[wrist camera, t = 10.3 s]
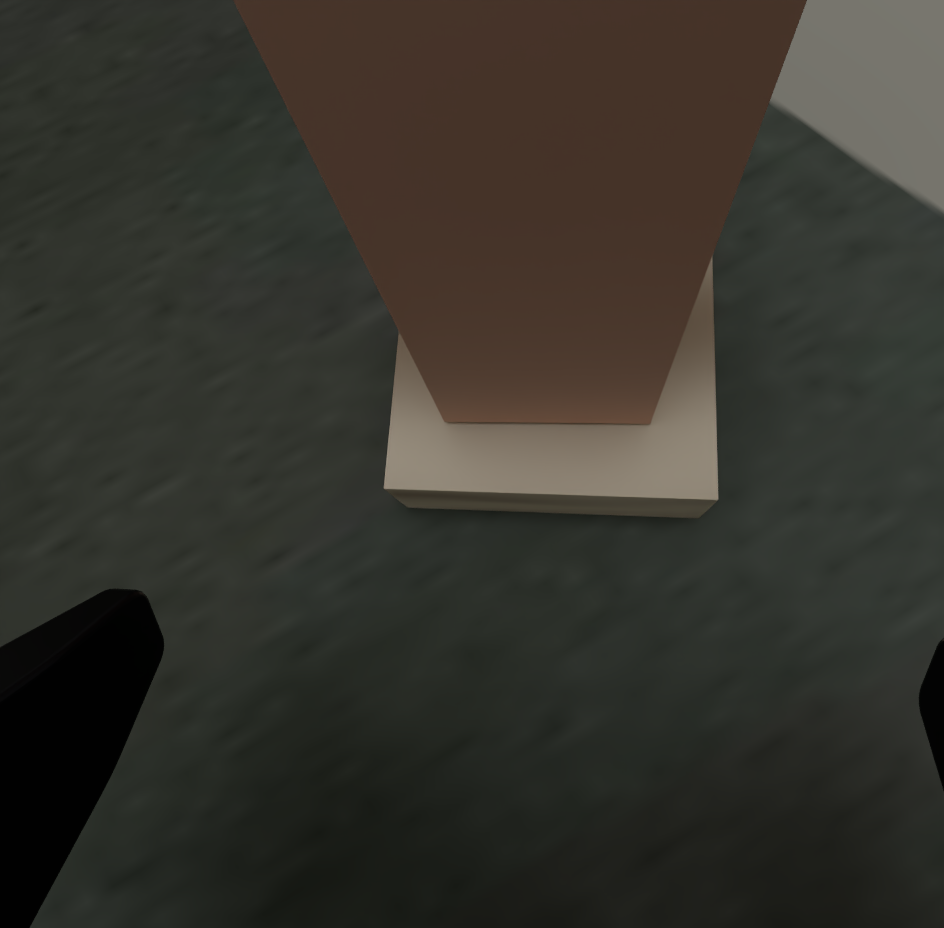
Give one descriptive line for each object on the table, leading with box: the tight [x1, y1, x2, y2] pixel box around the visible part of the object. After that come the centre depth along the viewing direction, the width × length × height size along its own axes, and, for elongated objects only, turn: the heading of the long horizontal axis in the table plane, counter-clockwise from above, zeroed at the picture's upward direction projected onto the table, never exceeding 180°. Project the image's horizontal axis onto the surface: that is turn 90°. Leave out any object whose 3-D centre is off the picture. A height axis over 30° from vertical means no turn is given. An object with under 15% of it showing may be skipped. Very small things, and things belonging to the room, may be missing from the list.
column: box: [234, 0, 807, 424], centre depth 11 cm, size 5×5×13 cm
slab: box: [384, 258, 718, 518], centre depth 19 cm, size 8×8×3 cm
